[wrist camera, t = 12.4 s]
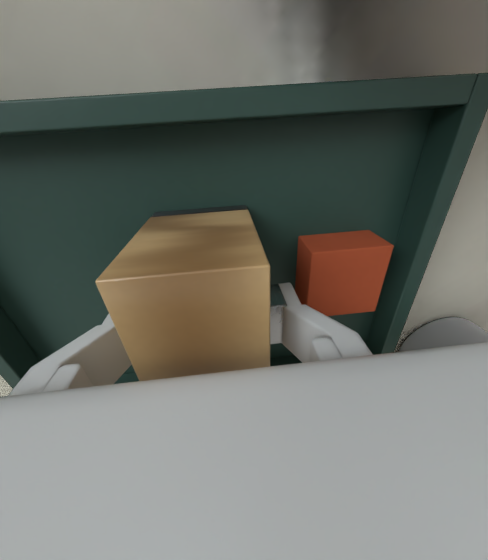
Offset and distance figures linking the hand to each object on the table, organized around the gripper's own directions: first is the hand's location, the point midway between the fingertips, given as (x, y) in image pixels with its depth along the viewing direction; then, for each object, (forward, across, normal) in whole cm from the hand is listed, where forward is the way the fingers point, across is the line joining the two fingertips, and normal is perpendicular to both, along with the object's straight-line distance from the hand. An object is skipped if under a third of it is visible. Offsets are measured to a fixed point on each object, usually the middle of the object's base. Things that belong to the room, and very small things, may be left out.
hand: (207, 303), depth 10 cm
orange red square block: (+2, -6, 0) cm, 7 cm away
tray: (+3, 0, 0) cm, 3 cm away
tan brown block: (+2, 0, 0) cm, 2 cm away
